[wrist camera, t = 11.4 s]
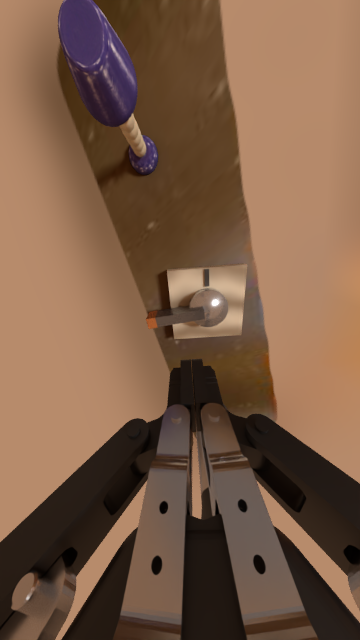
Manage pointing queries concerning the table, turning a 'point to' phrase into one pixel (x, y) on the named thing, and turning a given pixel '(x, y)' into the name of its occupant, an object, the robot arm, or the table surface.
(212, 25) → the table surface
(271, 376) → the table surface
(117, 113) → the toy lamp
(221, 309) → the orange-tipped lever
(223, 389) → the table surface
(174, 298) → the board
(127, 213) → the table surface
